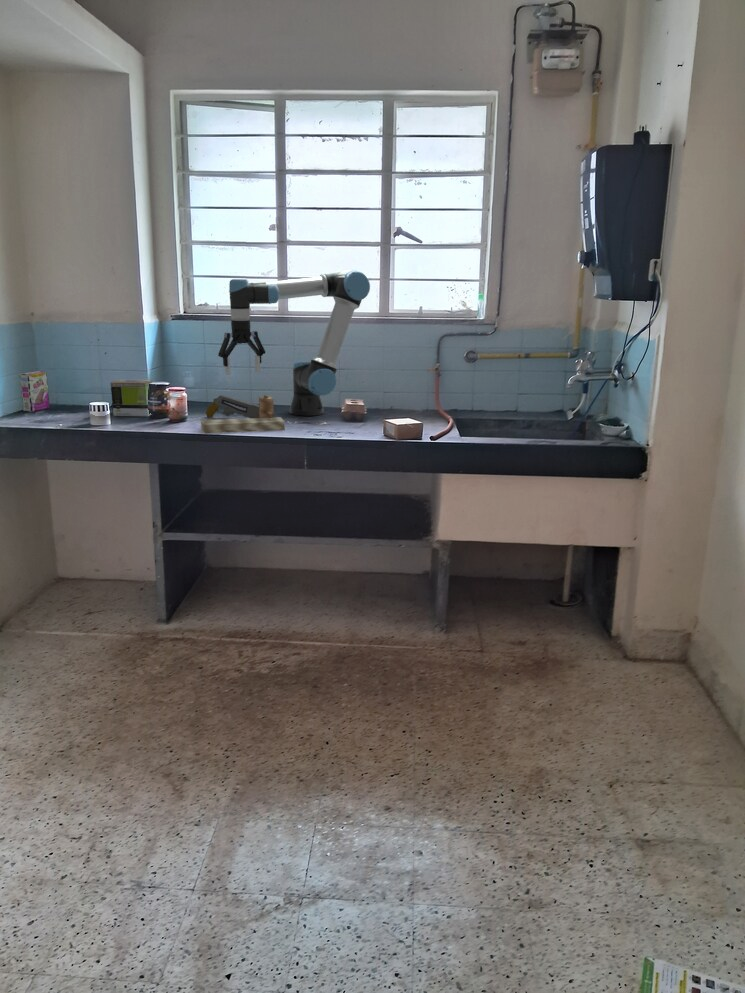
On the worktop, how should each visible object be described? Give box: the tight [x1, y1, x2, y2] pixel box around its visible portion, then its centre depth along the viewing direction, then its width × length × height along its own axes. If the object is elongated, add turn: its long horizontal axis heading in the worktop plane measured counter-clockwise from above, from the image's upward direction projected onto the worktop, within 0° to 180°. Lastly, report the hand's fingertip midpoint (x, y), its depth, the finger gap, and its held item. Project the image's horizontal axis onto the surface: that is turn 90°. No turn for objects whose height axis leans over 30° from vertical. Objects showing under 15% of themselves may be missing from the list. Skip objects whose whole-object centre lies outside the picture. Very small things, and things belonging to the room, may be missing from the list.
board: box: [200, 416, 286, 435], centre depth 292 cm, size 32×9×4 cm, turn 108°
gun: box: [205, 394, 259, 419], centre depth 312 cm, size 3×25×15 cm, turn 81°
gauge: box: [258, 394, 275, 418], centre depth 299 cm, size 5×12×12 cm, turn 18°
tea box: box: [110, 379, 153, 418], centre depth 314 cm, size 15×10×15 cm
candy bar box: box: [19, 370, 50, 413], centre depth 318 cm, size 11×5×16 cm, turn 162°
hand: (243, 373), depth 297 cm, fingers open, 13 cm apart
